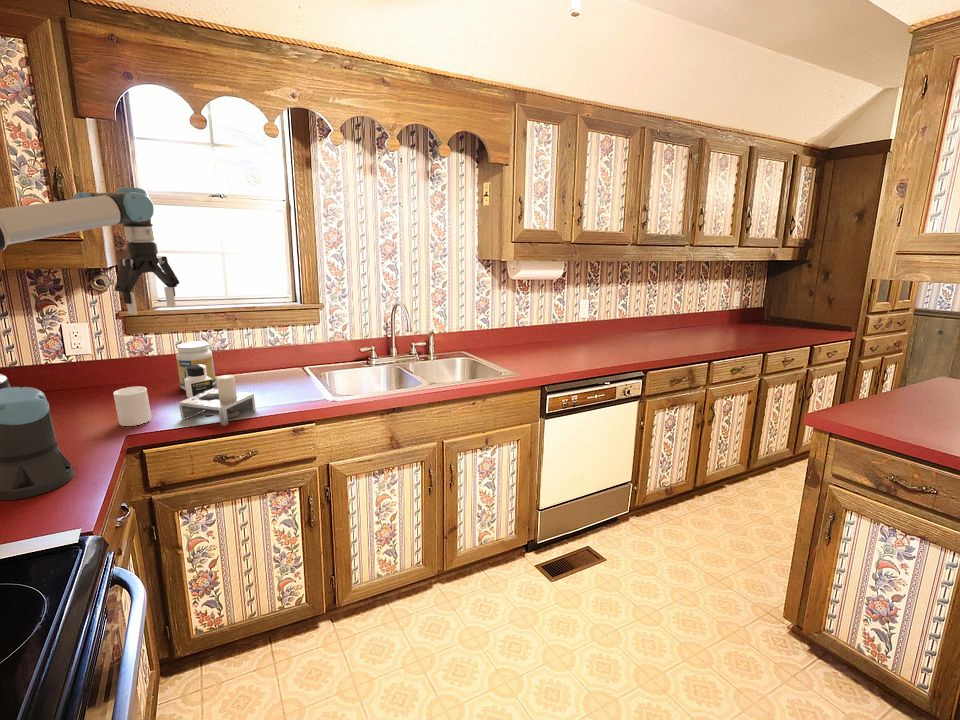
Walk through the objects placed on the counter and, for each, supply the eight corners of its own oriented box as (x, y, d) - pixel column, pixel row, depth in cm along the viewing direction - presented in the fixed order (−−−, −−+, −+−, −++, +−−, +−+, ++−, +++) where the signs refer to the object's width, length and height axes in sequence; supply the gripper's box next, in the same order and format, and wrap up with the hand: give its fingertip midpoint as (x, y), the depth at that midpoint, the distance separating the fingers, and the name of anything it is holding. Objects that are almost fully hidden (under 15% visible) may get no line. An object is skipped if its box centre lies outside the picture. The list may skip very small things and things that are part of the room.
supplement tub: (180, 393, 185) (173, 349, 180) (181, 384, 195) (174, 342, 190) (217, 388, 190) (211, 346, 186) (215, 380, 201) (210, 339, 196)
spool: (231, 419, 161) (226, 380, 157) (218, 417, 162) (212, 378, 159) (242, 413, 166) (237, 375, 162) (229, 411, 167) (224, 374, 163)
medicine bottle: (193, 401, 177) (188, 369, 173) (186, 397, 181) (181, 365, 178) (214, 397, 182) (210, 365, 178) (207, 392, 186) (203, 361, 183)
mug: (152, 412, 167) (146, 381, 164) (152, 424, 157) (146, 392, 154) (120, 417, 162) (114, 386, 160) (118, 429, 153) (112, 397, 150)
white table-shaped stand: (224, 425, 156) (222, 407, 155) (181, 419, 161) (178, 402, 159) (255, 410, 169) (253, 393, 168) (214, 404, 174) (212, 388, 172)
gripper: (111, 243, 138) (124, 318, 144) (185, 240, 161) (194, 305, 167) (90, 242, 140) (105, 316, 146) (167, 239, 163) (177, 303, 169)
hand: (153, 310), depth 156 cm, fingers open, 13 cm apart
